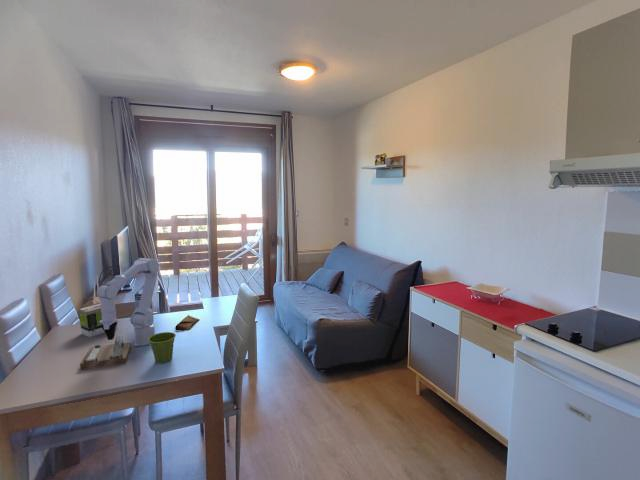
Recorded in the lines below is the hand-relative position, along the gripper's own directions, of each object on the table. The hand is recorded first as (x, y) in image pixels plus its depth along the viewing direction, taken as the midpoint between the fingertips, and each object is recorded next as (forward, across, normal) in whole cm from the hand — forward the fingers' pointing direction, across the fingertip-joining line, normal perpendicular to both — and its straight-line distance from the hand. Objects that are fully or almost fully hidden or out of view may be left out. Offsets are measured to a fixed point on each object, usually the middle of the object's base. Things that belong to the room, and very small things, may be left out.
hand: (111, 338), depth 170 cm
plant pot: (+10, +11, +23) cm, 27 cm away
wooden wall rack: (+9, 0, -2) cm, 10 cm away
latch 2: (+4, +2, +3) cm, 5 cm away
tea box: (+10, -39, -14) cm, 43 cm away
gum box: (+10, -36, +10) cm, 39 cm away
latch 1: (+6, +1, -7) cm, 10 cm away
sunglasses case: (+10, -32, +33) cm, 48 cm away
